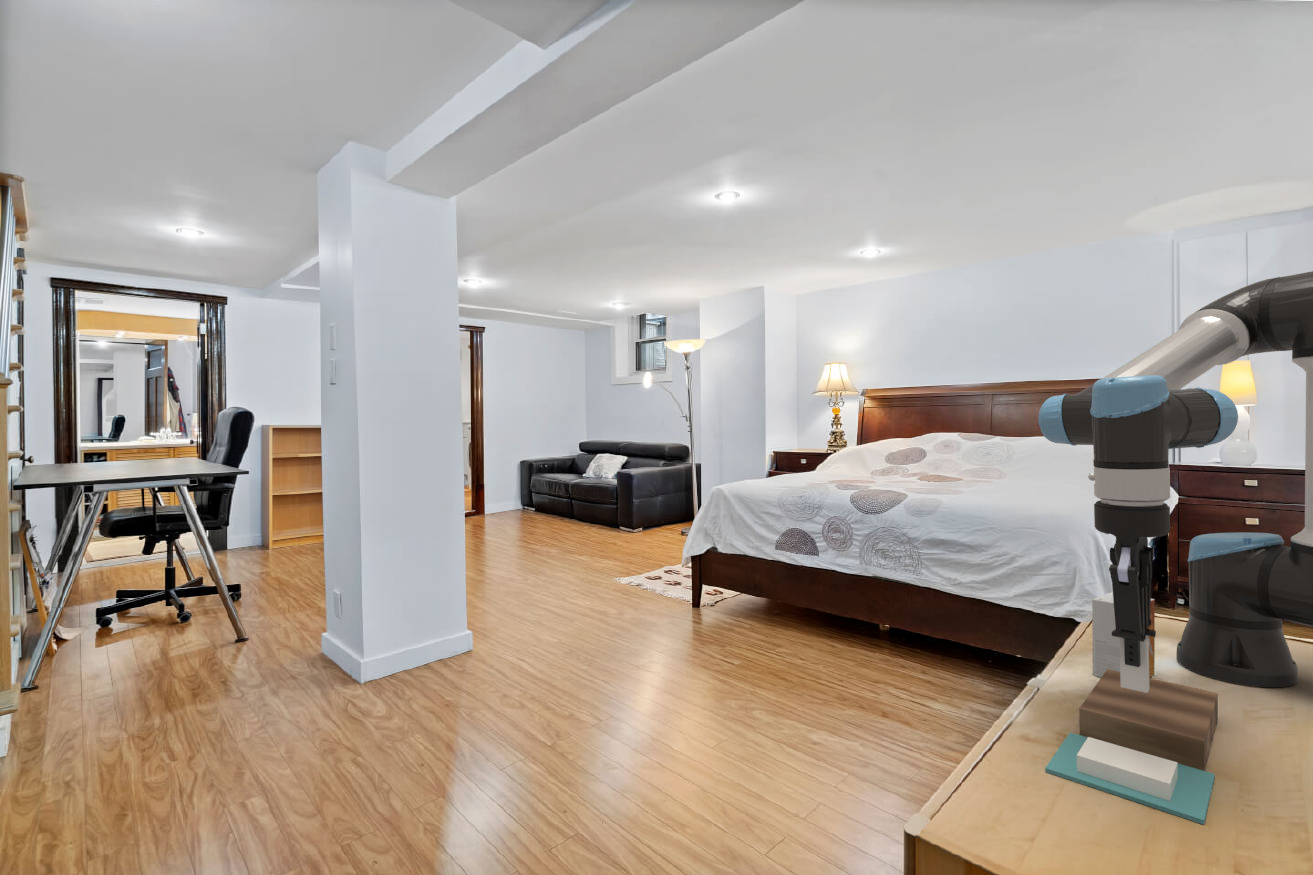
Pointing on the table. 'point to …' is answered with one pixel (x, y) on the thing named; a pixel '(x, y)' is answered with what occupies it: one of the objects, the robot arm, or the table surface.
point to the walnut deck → (1152, 719)
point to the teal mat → (1184, 803)
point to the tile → (1128, 768)
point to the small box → (1108, 645)
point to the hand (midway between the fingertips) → (1134, 687)
